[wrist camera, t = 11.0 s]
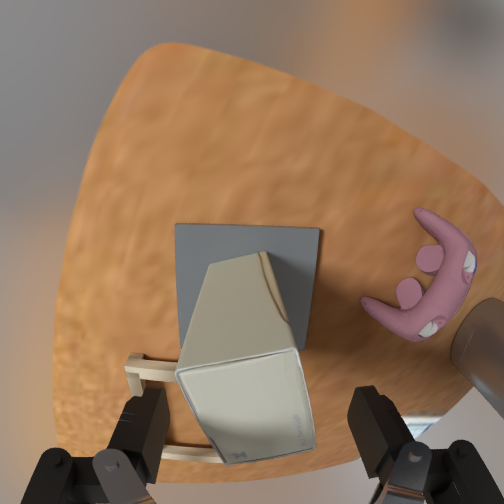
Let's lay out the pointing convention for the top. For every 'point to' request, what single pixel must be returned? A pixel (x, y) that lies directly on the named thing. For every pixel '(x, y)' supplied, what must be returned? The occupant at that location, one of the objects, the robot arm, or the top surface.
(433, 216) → the video game controller
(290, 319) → the coaster
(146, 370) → the wooden rectangular frame
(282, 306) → the skincare box
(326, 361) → the top surface
